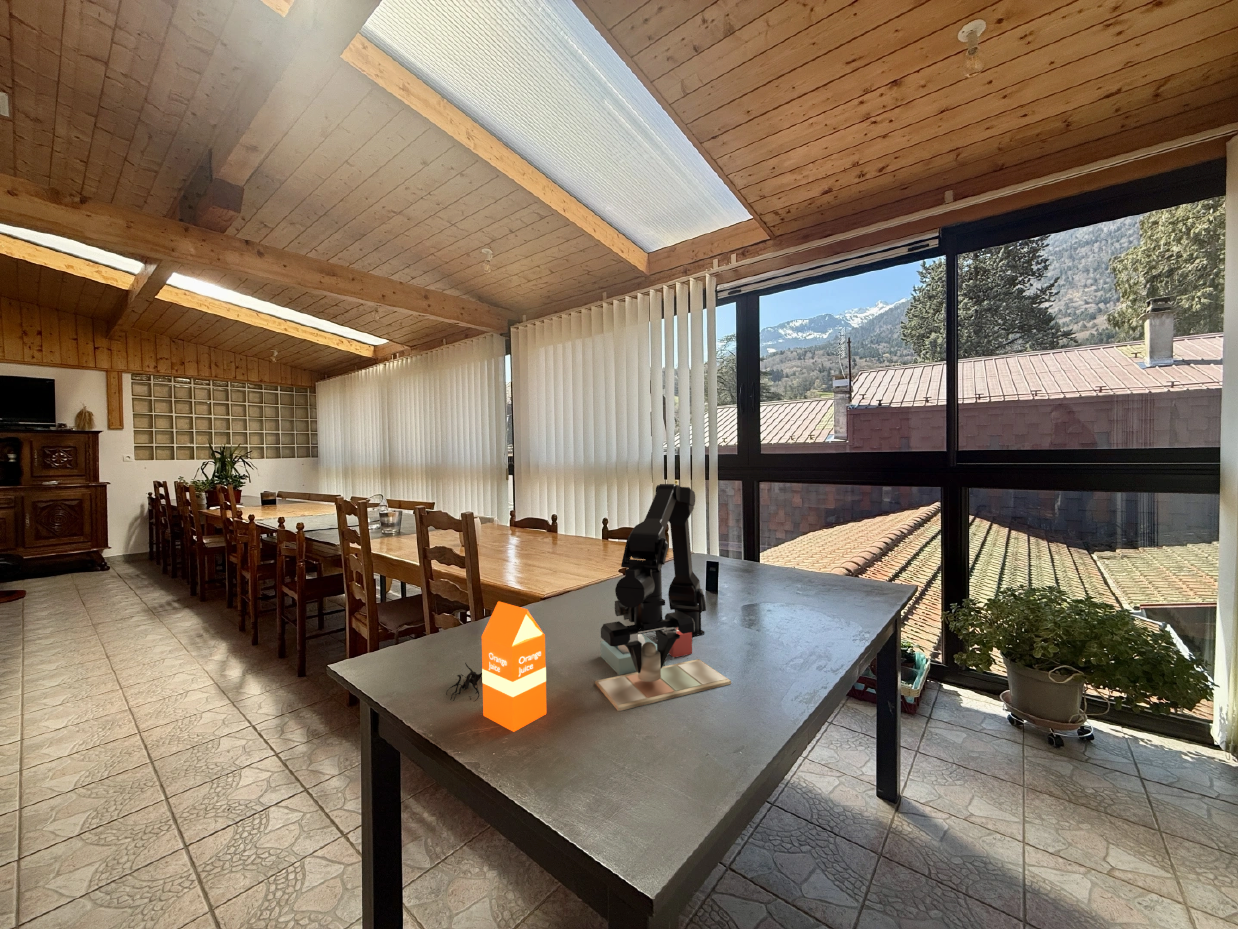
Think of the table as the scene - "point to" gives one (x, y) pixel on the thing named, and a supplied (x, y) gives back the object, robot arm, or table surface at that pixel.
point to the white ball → (624, 649)
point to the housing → (619, 658)
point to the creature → (467, 682)
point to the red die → (682, 645)
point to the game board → (661, 684)
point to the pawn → (650, 663)
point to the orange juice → (513, 668)
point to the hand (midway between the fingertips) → (649, 670)
